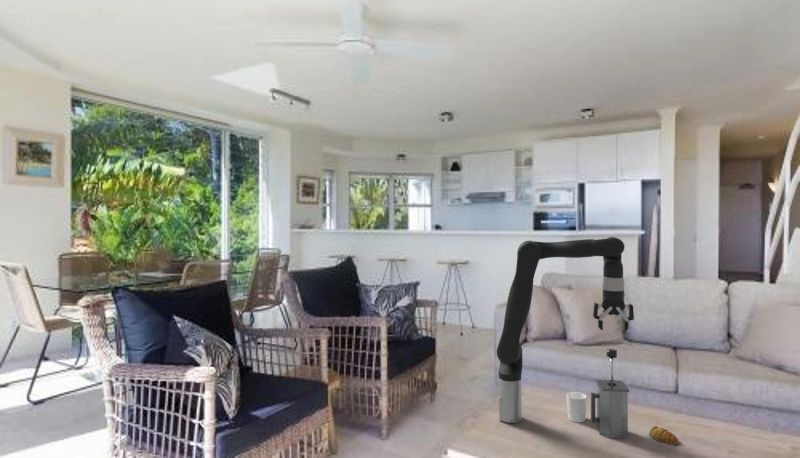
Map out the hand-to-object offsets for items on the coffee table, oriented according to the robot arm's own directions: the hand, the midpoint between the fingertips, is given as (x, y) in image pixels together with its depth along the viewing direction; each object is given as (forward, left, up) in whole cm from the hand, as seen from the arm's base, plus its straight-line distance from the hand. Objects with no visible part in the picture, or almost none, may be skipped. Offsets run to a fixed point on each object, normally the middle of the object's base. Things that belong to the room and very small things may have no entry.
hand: (613, 330), depth 182 cm
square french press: (-2, -2, -40) cm, 40 cm away
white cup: (-12, +9, -40) cm, 43 cm away
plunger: (-1, -2, -23) cm, 23 cm away
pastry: (+16, -5, -40) cm, 43 cm away
